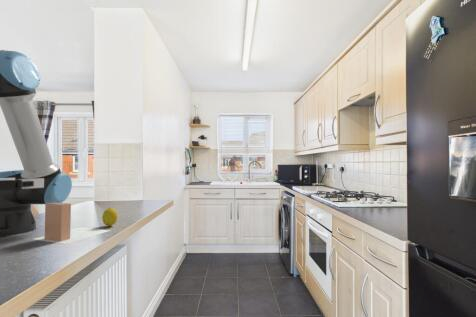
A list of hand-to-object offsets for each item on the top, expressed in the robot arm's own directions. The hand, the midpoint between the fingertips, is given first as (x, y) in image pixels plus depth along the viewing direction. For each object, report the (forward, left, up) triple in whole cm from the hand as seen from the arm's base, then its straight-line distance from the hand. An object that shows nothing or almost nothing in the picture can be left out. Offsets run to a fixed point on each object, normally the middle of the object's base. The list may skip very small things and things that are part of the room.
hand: (28, 182), depth 78 cm
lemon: (+2, +29, -20) cm, 36 cm away
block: (0, +9, -20) cm, 22 cm away
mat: (0, +15, -20) cm, 25 cm away
